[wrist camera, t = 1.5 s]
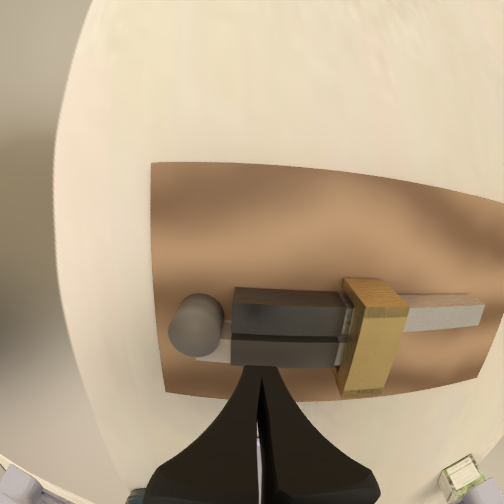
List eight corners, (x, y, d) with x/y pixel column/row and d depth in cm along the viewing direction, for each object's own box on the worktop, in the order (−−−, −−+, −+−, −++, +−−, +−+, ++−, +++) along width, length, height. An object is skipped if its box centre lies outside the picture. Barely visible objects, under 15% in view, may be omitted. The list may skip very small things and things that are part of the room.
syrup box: (436, 482, 27) (461, 541, 13) (441, 469, 26) (471, 534, 12) (464, 466, 27) (492, 522, 13) (471, 451, 25) (504, 512, 11)
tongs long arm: (463, 314, 17) (478, 326, 15) (234, 314, 17) (231, 332, 15) (469, 292, 16) (486, 303, 14) (235, 287, 17) (232, 302, 14)
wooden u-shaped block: (362, 358, 18) (380, 394, 14) (327, 359, 18) (341, 398, 14) (381, 279, 16) (410, 306, 12) (343, 278, 16) (366, 306, 12)
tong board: (470, 370, 20) (489, 392, 16) (169, 382, 20) (156, 415, 17) (517, 208, 16) (547, 216, 12) (158, 163, 16) (132, 161, 12)
